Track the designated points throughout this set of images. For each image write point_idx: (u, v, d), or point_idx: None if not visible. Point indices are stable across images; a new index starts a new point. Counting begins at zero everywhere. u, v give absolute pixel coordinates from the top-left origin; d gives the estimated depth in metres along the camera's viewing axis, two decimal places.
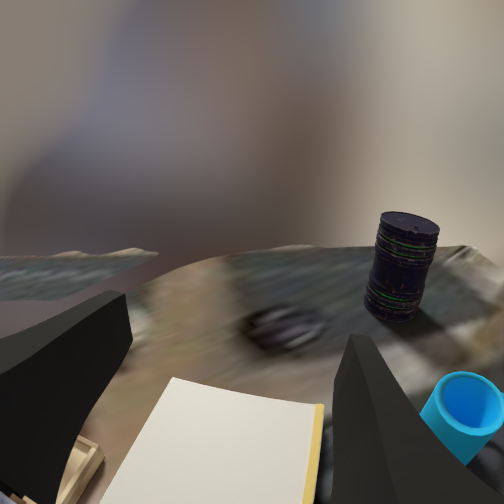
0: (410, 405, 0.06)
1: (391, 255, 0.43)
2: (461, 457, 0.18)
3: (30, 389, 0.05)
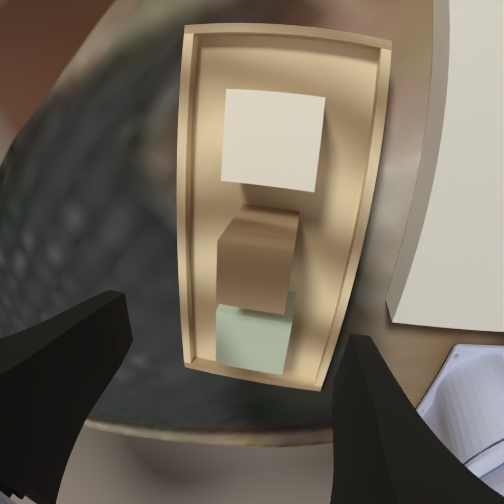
0: (410, 405, 0.06)
1: None
2: None
3: (30, 389, 0.05)
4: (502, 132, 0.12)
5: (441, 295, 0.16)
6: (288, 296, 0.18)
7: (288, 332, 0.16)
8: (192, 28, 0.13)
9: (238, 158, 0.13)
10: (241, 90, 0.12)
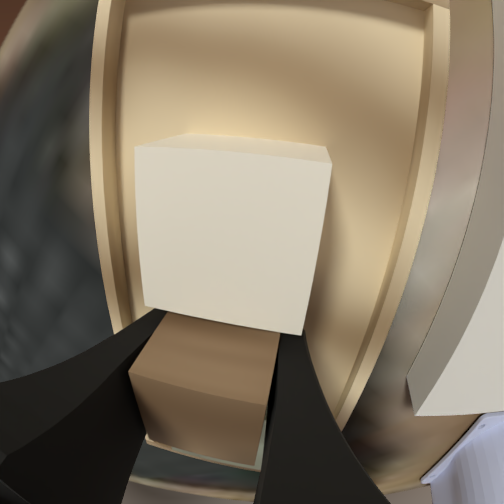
0: (320, 399, 0.06)
1: None
2: None
3: (97, 423, 0.05)
4: None
5: (483, 382, 0.10)
6: None
7: None
8: None
9: (167, 275, 0.07)
10: (160, 149, 0.06)
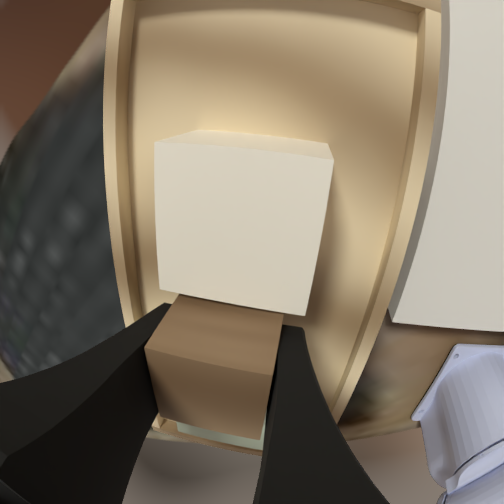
0: (320, 399, 0.06)
1: None
2: None
3: (98, 423, 0.05)
4: (502, 132, 0.12)
5: (441, 295, 0.16)
6: None
7: None
8: None
9: (182, 261, 0.08)
10: (179, 145, 0.07)
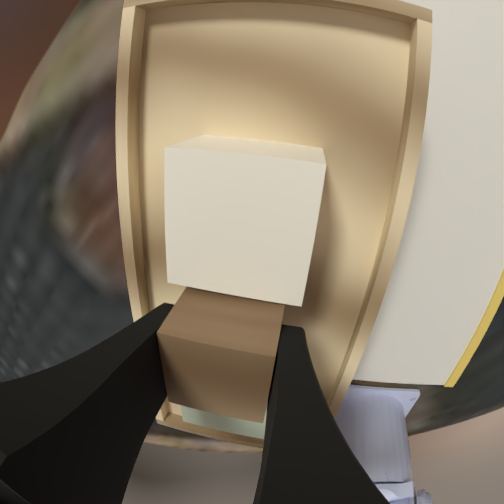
0: (320, 399, 0.06)
1: None
2: None
3: (97, 423, 0.05)
4: None
5: None
6: None
7: None
8: None
9: (189, 255, 0.09)
10: (187, 150, 0.07)
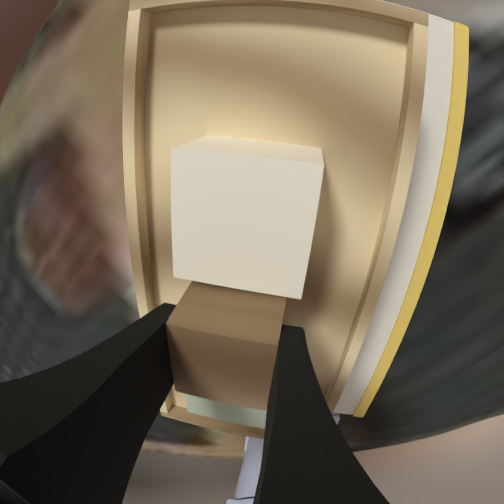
0: (320, 399, 0.06)
1: None
2: None
3: (98, 423, 0.05)
4: None
5: None
6: None
7: None
8: (139, 2, 0.08)
9: (194, 251, 0.09)
10: (193, 152, 0.08)
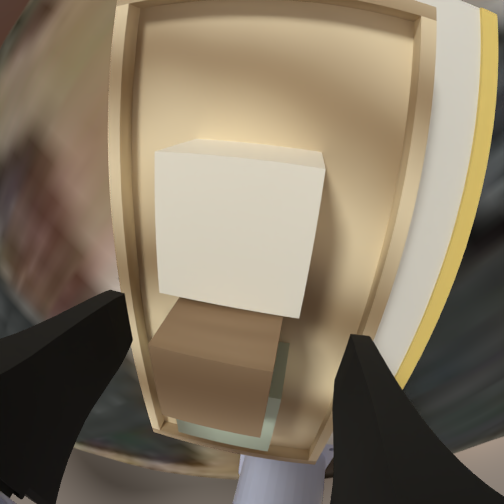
0: (410, 405, 0.06)
1: None
2: None
3: (30, 389, 0.05)
4: None
5: None
6: (278, 350, 0.12)
7: (275, 409, 0.10)
8: None
9: (181, 265, 0.08)
10: (178, 154, 0.07)
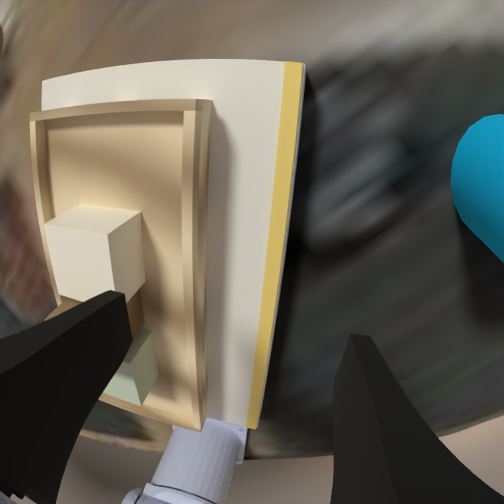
0: (410, 405, 0.06)
1: None
2: None
3: (30, 389, 0.05)
4: None
5: None
6: (142, 335, 0.18)
7: (130, 371, 0.16)
8: (34, 115, 0.13)
9: (64, 280, 0.14)
10: (52, 226, 0.13)
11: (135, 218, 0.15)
